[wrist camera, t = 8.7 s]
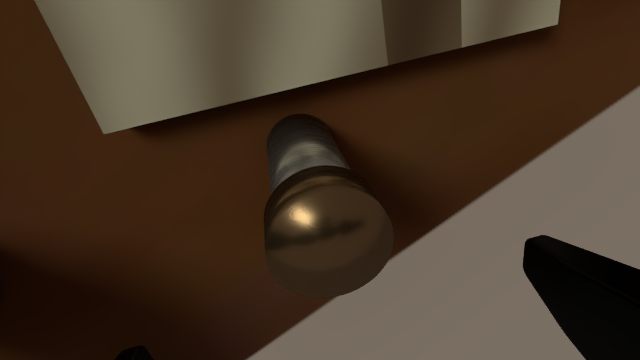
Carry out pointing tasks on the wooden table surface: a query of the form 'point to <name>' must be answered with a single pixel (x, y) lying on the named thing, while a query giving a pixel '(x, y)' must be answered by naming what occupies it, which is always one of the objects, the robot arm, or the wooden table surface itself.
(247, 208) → the wooden table surface
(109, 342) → the wooden table surface
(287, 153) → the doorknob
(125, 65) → the board
